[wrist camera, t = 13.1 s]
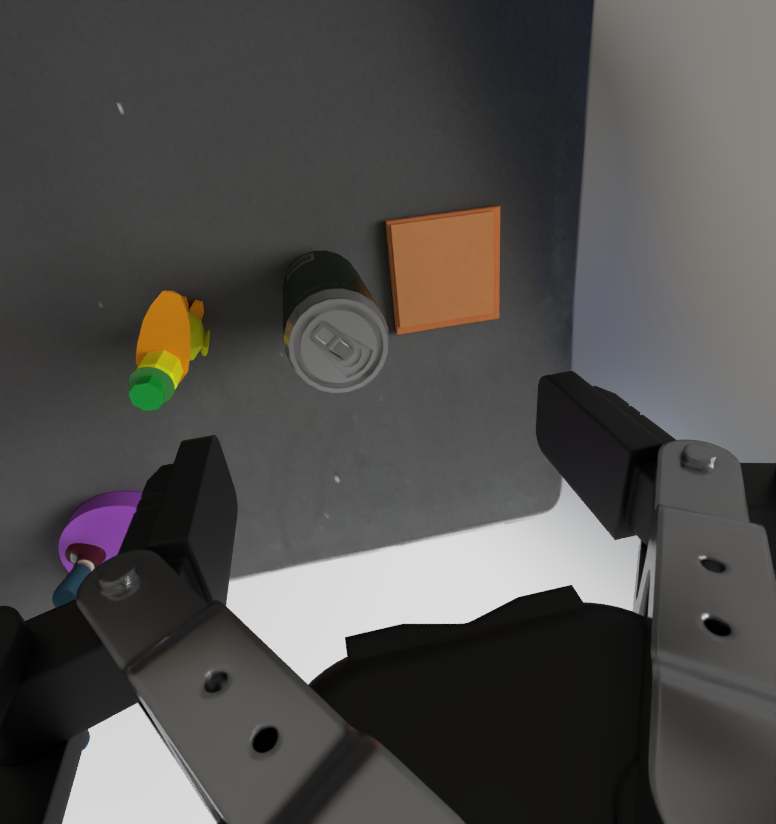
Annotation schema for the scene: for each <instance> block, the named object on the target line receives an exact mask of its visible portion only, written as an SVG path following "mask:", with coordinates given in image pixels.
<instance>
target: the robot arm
mask: <svg viewBox="0 0 776 824" xmlns="http://www.w3.org/2000/svg"><path fill="white" fill-rule="evenodd" d="M536 436H537V441H538V444H539V447H540V449H541V451H542V452H543V454H544V455H545V456H546V457H547V459H548V460H549V461H550V462H551V463H552V465H553V466H554V467H555V468H556V470H557V471H558V472H559V473H560V474H561V476H562V477H563V478H564V479H565V480H566V481H567V483H568V484H569V485H570V486H571V488H572V489H573V490H574V491H575V492H576V493H577V494H578V496H579V497H580V498H581V500H582V501H583V502H584V503H585V504H586V506H587V507H588V508H589V509H590V510H591V512H592V513H593V514H594V515H595V516H596V517H597V519H598V520H599V521H600V522H601V523H602V525H603V526H604V527H605V528H606V530H607V531H608V532H609V533H610V534H611V536H612V537H613V538H614V539H615V540H617V539H621V538H626V537H630V536H634V535H637V536H638V537H639V538H640V539H641V542H640V547H639V552H638V562H637V573H636V583H635V594H634V604H633V612H632V611H629V610H626V609H622V608H619V607H614V606H610V605H604V604H596V603H583V602H582V600H581V599H580V597H579V596H578V594H577V592H576V591H575V589H574V588H573V586H572V585H570V586H566V587H561V588H557V589H553V590H548V591H544V592H539V593H535V594H531V595H526V596H522V597H518V598H516V599H514V600H512V601H510V602H508V603H506V604H504V605H502V606H500V607H499V608H497V609H495V610H493V611H491V612H489V613H487V614H485V615H483V616H481V617H479V618H477V619H475V620H474V621H471V622H469V623H465V624H401V625H397V626H393V627H388V628H384V629H379V630H375V631H371V632H367V633H362V634H358V635H354V636H349V637H345V640H346V648H347V656H348V657H346V658H344V659H342V660H340V661H338V662H337V663H335V664H333V665H332V666H330V667H329V668H328V669H326V670H324V671H323V672H322V673H321V674H320V675H318V676H317V677H316V678H315V679H314V680H312V682H310V684H309V685H307V684H306V683H305V682H304V681H303V680H302V679H301V678H300V677H299V676H298V675H297V674H296V673H295V672H294V671H293V670H292V669H291V668H290V667H289V666H288V665H287V664H286V663H285V662H283V661H282V660H281V659H280V658H279V657H278V656H277V655H276V654H275V653H274V652H273V651H272V650H271V649H270V648H269V647H268V646H267V645H266V644H265V643H263V641H262V640H261V639H259V638H258V637H257V636H256V635H255V634H254V633H253V632H252V631H251V630H250V629H249V628H248V627H247V626H246V625H245V624H244V623H243V622H242V621H241V620H240V619H238V617H237V616H235V615H234V614H233V613H232V612H231V611H230V610H229V609H228V608H227V607H226V600H227V592H228V584H229V576H230V568H231V560H232V552H233V544H234V537H235V529H236V521H237V512H238V507H237V497H236V492H235V488H234V485H233V482H232V479H231V475H230V472H229V469H228V466H227V463H226V460H225V457H224V454H223V451H222V448H221V445H220V442H219V440H218V438H217V436H215V435H211V436H206V437H200V438H195V439H189V440H184V441H182V442H181V444H180V447H179V449H178V452H177V455H176V458H175V461H174V464H168V465H163V466H161V467H160V468H159V469H158V470H157V471H156V472H155V473H154V474H153V475H152V476H151V477H150V478H149V480H148V481H147V483H146V485H145V488H144V490H143V492H142V495H141V499H140V500H139V502H138V505H137V507H136V512H135V513H134V515H133V517H132V520H131V522H130V525H129V527H128V530H127V532H126V535H125V537H124V539H123V542H122V544H121V547H120V549H119V552H118V554H117V555H116V556H114V557H112V558H110V559H108V560H106V561H104V562H103V563H101V564H100V565H98V566H97V567H96V568H95V569H93V570H92V571H91V572H90V573H89V574H88V575H87V576H86V577H85V579H84V580H83V581H82V583H81V584H80V586H79V588H78V590H77V593H76V599H74V600H72V601H70V602H68V603H66V604H64V605H61V606H59V607H57V608H54V609H52V610H50V611H47V612H45V613H43V614H40V615H38V616H36V617H34V618H31V619H29V620H27V621H24V619H23V618H22V617H21V615H20V614H19V612H18V611H17V610H16V609H14V608H12V607H9V606H0V824H62V821H63V817H64V813H65V810H66V806H67V803H68V799H69V796H70V792H71V788H72V785H73V781H74V778H75V774H76V770H77V767H78V763H79V759H80V756H81V751H82V749H83V745H84V741H85V738H86V734H87V730H88V728H91V727H92V726H94V725H96V724H98V723H100V722H102V721H104V720H106V719H107V718H109V717H111V716H113V715H115V714H117V713H119V712H121V711H122V710H124V709H126V708H128V707H130V706H132V705H134V704H136V703H138V704H139V706H140V707H141V709H142V710H143V712H144V713H145V715H146V716H147V718H148V719H149V721H150V722H151V724H152V725H153V727H154V728H155V730H156V731H157V733H158V734H159V736H160V737H161V739H162V740H163V742H164V743H165V745H166V746H167V748H168V749H169V751H170V752H171V754H172V755H173V757H174V758H175V760H176V761H177V763H178V764H179V766H180V767H181V769H182V770H183V772H184V773H185V775H186V777H187V778H188V780H189V781H190V783H191V784H192V786H193V787H194V789H195V791H196V792H197V794H198V795H199V797H200V798H201V800H202V801H203V803H204V805H205V806H206V808H207V809H208V811H209V812H210V814H211V815H212V817H213V818H214V820H215V821H216V823H217V824H776V463H740V462H739V461H738V459H737V458H736V457H735V456H734V455H733V454H731V453H730V452H729V451H727V450H725V449H724V448H721V447H719V446H716V445H714V444H711V443H707V442H703V441H696V440H675V439H674V438H673V437H672V436H670V435H669V434H668V433H666V432H665V431H664V430H662V429H661V428H660V427H658V426H657V425H656V424H654V423H653V422H652V421H650V420H649V419H648V418H647V417H645V416H644V415H640V412H639V411H637V410H636V409H634V408H633V407H632V406H629V404H628V403H627V402H625V401H624V400H623V399H621V398H620V397H619V396H618V395H616V394H615V393H612V392H610V391H607V390H604V389H602V388H599V387H597V386H591V385H590V384H589V383H587V382H586V381H585V380H584V379H582V378H581V377H580V376H579V375H577V374H576V373H575V372H573V371H568V372H563V373H557V374H552V375H546V376H542V377H541V378H540V380H539V384H538V399H537V419H536Z"/></svg>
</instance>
